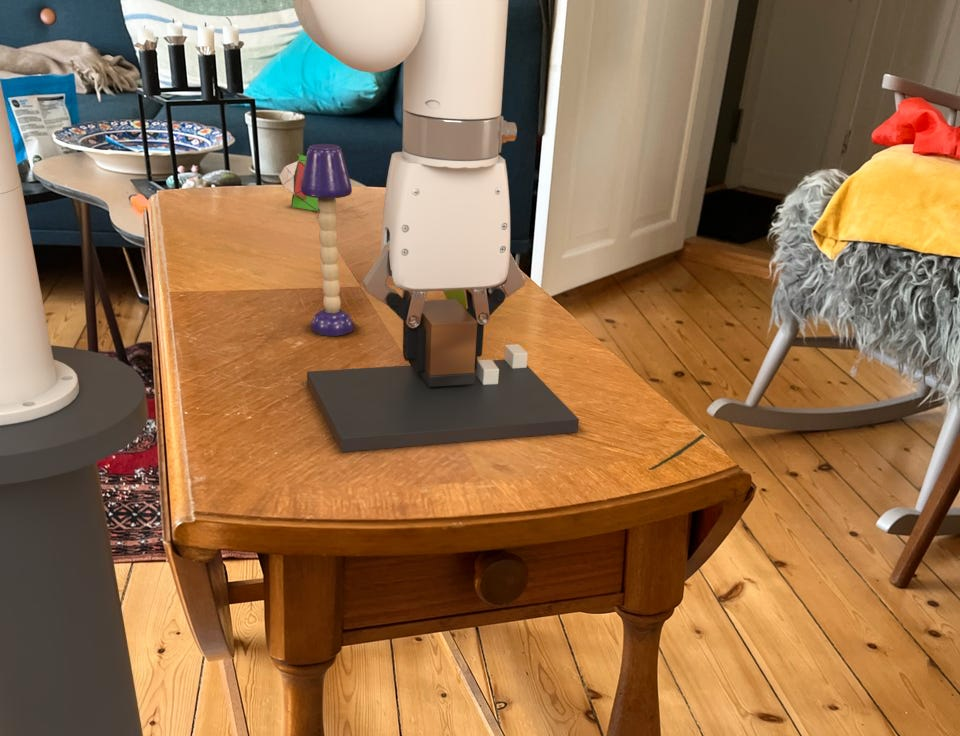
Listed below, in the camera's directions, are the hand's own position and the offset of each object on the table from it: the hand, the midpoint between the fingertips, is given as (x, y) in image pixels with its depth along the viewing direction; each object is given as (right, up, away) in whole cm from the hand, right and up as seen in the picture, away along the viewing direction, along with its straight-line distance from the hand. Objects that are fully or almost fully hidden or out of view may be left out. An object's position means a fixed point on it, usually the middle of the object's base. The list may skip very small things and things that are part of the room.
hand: (442, 364), depth 90 cm
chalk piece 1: (+4, -1, +1) cm, 4 cm away
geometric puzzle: (-20, +35, +51) cm, 65 cm away
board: (0, -4, -2) cm, 5 cm away
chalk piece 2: (+7, +1, +4) cm, 8 cm away
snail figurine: (+2, +11, +20) cm, 23 cm away
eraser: (0, -1, 0) cm, 1 cm away
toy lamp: (-12, +7, +13) cm, 18 cm away
